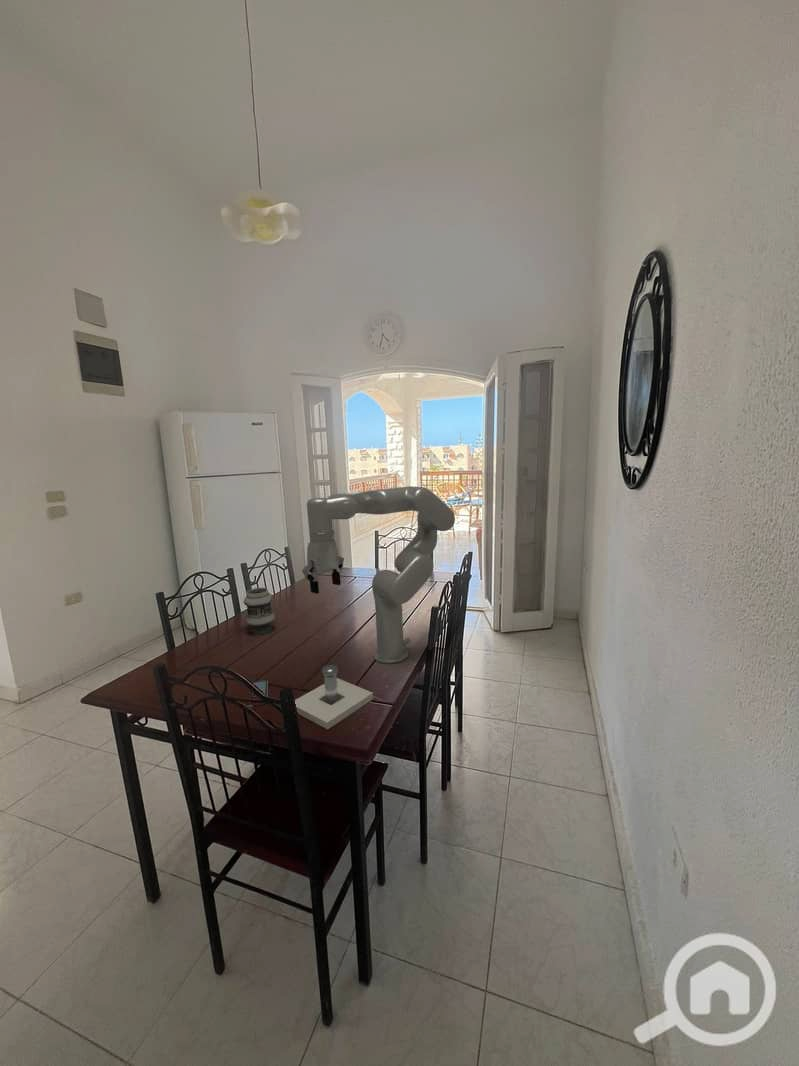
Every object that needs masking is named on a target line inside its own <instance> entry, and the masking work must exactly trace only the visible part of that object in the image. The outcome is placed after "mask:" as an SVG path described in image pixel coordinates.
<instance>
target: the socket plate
mask: <svg viewBox="0 0 799 1066" xmlns="http://www.w3.org/2000/svg"><path fill="white" fill-rule="evenodd" d="M337 692H338V702H336V703H334V704H333V705H330V704H327V703H326V696H325V683H324V684H321V685H320V686H318V687H316V688H314V689H313V690H311V691H308V692H307V693H305V694H303V695H302V696H300V697H298V698H296V699H294V700H295V704H296V708H297V712H298V714H297V715H300V716H302V717H303V718H305V719H307V720H309V721H311V722H313V723H314V724H316V725H318V726H320V727H323V728H324V729H325V730H330V729H331V728H332V727H334V726H335V725H337V724H338V723H340V722H341V721H343V720H345V718H347V717H349V716H350V715H352V714H354V713H355V712H357V711H358V710H359V709H361V708H362V707H363V706H365V705H367V704H368V703H369V702H371V701H373V700H374V692H372V691H369V690H367V689H364V688H362V687H359V686H357V685H355V684H352V683H350V682H348V681H346V680H343V679H340V678H338V677H337Z"/></svg>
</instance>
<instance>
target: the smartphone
mask: <svg viewBox="0 0 799 1066" xmlns="http://www.w3.org/2000/svg"><path fill="white" fill-rule="evenodd" d="M251 683H253V684H254V685H256V686H257V687H258V688H259V689H260V690H261V691H263V693H264V694H265V695H266V696H268V688H269V687H268V685H269V681H268V680H266V679H263V680H257V681H251ZM254 697H255V696H254ZM254 700H255V699H254ZM248 706H249V707H251V708H254V707H253V706H251V705H248Z"/></svg>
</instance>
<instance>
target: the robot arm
mask: <svg viewBox="0 0 799 1066" xmlns="http://www.w3.org/2000/svg"><path fill="white" fill-rule="evenodd" d="M412 511H413V512H417V515H416V516H417V518H416V519H417V520H416V521H417V522H416V523H417V530H416V534H415V536H414V537H413V538H412V539H411V540H410V541H409V542H408V543H407V545H406V546H405V547H404V548H403V549H402V550H401V551H400V552H399V553H398V554H397V556H395V557H396V558H395V559H394V567H395V569H396V570H397V572H395V571H393V570H390V569H382V570H379V571H377V572H376V573H375V575H374V576H373V579H372V582H371V589H372V594H373V599H374V606H375V608H374V609H375V625H376V626H375V628H376V630H375V631H376V647H377V648H376V649H375V650H374V651H373V653H372V654H373V659H374V660H375V661H377V662H379V663H383V664H395V663H396V664H397V663H400V662H403V661H404V660H406V659H407V658H408V657H409V651H408V649H407V648H406V646H407V645H408V644H410V643H411V641H412V640H411V639H410V637H407V638H405V639H404V627H403V625H404V623H403V605H404V604H406V603H408V602H409V601H410V600H411V599H412V598H413V597H414V596H415V595H416V594H417V593H418V592H419V591H420V590H421V588H422V587H423V586H424V585H425V584H426V583H427V581H428V580H429V579H430V578H431V576H432V574H433V571H434V568H435V567H434V566H435V565H434V561H433V558H432V557H431V556H430V555H431V554H432V553H433V552H434V550H435V549H436V546H437V543H438V532H447V531H449V530H451V529H452V528H453V527H454V525H455V523H456V516H455V513H454V511H453V510H452V508H451V507H449V505H447V504H446V503H445V502H444V501H442V499H441V498H440V497H438V496H437V494H435V493H434V492H433V491H432V490H430V489H429V488H426V487H423V486H411V485H410V486H399V487H393V488H381V489H372V490H364V491H355V492H354V491H353V492H344V493H334V494H331V495H329V496H328V497H314V498H309V499H308V500H307V502H306V513H307V522H308V523H307V524H308V533H309V542H308V543H307V548H306V550H307V552H306V566H304V567H303V569H302V570H301V571H302V574H303V575H304V577H305V578H306V579H307V581H308V582H309V586H310V593H313V594H315V595H316V594H319V593H320V586H319V580H317V579H318V577H319V575H322V574H325V573H328V572H331V571H332V572H331V580H332V581H331V583H332V584H333V585H336V586H340V585H341V573H342V568H343V565H344V560H345V558H344V557H342V556H339V554H338V553H339V552H338V546H337V543H336V539H334V535H335V530H334V525H333V523H334V522H333V520H349V519H351V518H353V517H355V516H356V514H366V515H375V516H376V515H377V516H378V515H389V514H395V513H402V512H403V513H405V512H412ZM398 572H399V573H398Z"/></svg>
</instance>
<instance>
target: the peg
mask: <svg viewBox="0 0 799 1066" xmlns="http://www.w3.org/2000/svg"><path fill="white" fill-rule="evenodd" d="M338 673H339V667H338V665H335V664H328V665H324V666H323V667H321V674H322V676H323V678H324V684H325V696H326V701H325V703H327V704H330V705H333V704H334V703H336V702H338V701H339V700H338V692H337V678H338V677H337V674H338Z"/></svg>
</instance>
